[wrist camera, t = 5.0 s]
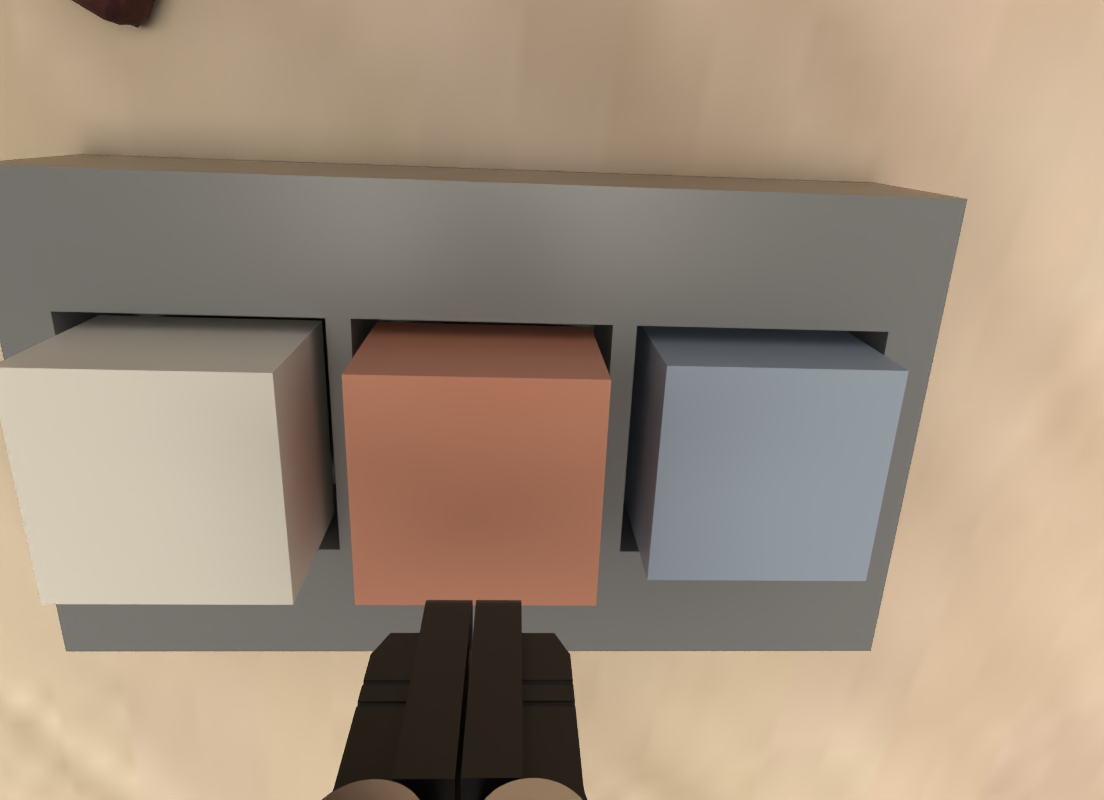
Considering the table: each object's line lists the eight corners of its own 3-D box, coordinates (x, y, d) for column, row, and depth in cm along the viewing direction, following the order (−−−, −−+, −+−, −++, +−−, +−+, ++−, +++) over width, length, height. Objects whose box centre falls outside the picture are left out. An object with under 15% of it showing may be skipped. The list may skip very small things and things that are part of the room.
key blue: (623, 498, 23) (647, 579, 19) (637, 318, 22) (667, 365, 17) (804, 500, 24) (865, 581, 20) (833, 323, 22) (908, 370, 18)
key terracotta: (384, 513, 22) (355, 605, 18) (376, 321, 20) (341, 374, 16) (580, 515, 22) (596, 605, 18) (590, 327, 20) (611, 380, 16)
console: (146, 555, 26) (66, 651, 21) (80, 154, 22) (-38, 164, 17) (809, 560, 28) (870, 650, 23) (874, 182, 23) (967, 198, 18)
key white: (130, 511, 22) (40, 604, 17) (98, 315, 20) (-12, 367, 16) (334, 512, 22) (293, 604, 18) (321, 320, 20) (272, 372, 16)
